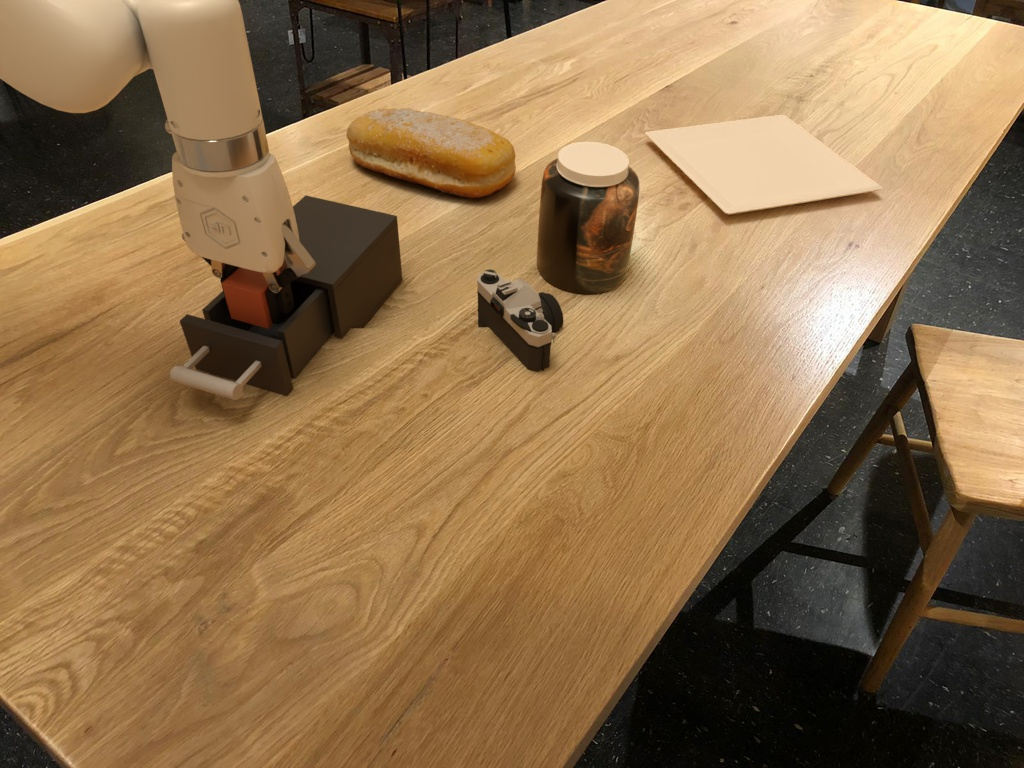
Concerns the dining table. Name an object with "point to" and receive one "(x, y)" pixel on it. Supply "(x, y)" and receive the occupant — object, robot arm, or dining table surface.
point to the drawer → (254, 345)
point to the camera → (519, 317)
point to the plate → (760, 163)
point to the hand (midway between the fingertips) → (261, 308)
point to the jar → (587, 218)
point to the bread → (432, 151)
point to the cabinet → (349, 258)
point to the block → (248, 297)
